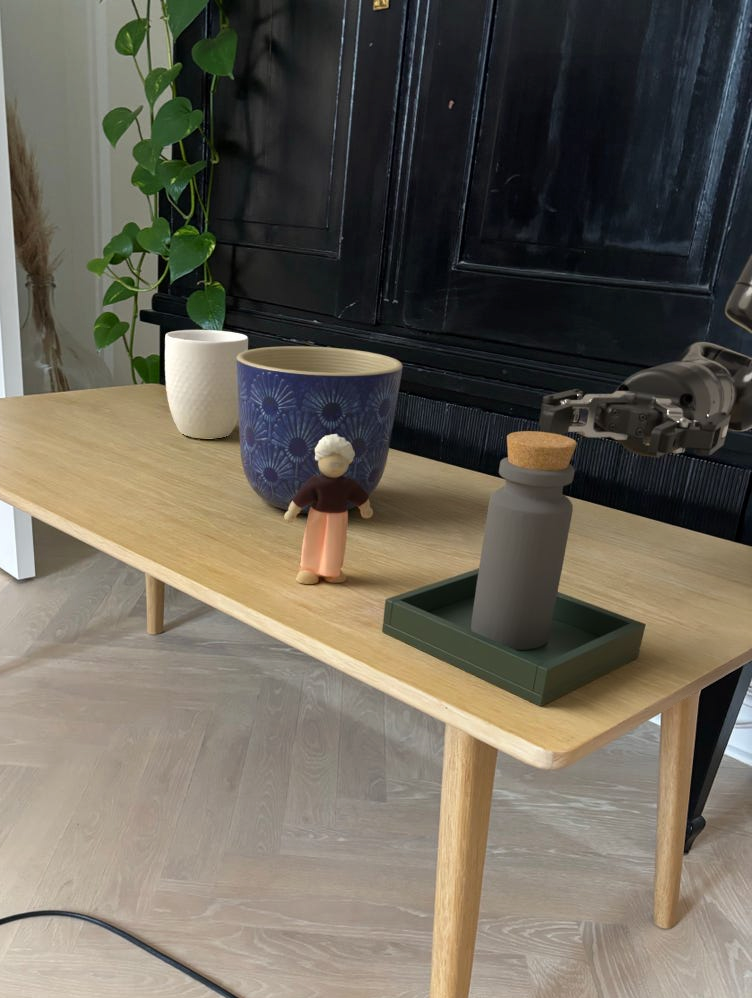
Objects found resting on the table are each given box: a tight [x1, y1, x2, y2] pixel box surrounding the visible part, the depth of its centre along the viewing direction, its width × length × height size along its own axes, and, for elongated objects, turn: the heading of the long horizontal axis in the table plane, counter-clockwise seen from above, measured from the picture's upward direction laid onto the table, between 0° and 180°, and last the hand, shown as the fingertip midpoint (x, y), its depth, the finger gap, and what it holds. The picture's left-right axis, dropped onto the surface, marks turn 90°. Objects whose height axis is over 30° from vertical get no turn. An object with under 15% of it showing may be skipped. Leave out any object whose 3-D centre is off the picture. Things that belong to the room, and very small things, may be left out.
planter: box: [236, 345, 404, 515], centre depth 99 cm, size 17×17×15 cm
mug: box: [164, 329, 249, 438], centre depth 128 cm, size 15×11×13 cm
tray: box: [381, 567, 647, 707], centre depth 71 cm, size 15×13×3 cm
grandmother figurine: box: [283, 434, 374, 585], centre depth 80 cm, size 8×4×13 cm, turn 114°
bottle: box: [471, 430, 578, 650], centre depth 68 cm, size 6×6×15 cm
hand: (599, 433), depth 73 cm, fingers open, 8 cm apart
